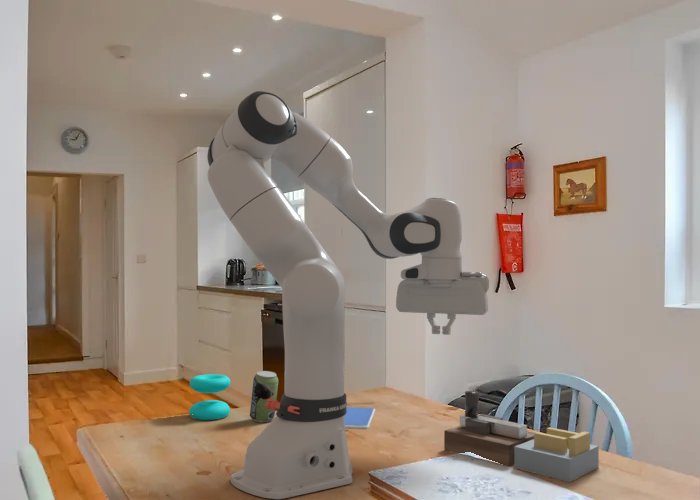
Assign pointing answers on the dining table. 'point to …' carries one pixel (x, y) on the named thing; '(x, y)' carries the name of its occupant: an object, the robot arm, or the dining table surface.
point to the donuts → (209, 407)
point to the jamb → (483, 441)
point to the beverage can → (263, 395)
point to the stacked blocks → (558, 454)
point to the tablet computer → (358, 417)
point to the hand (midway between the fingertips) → (441, 334)
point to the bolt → (491, 419)
